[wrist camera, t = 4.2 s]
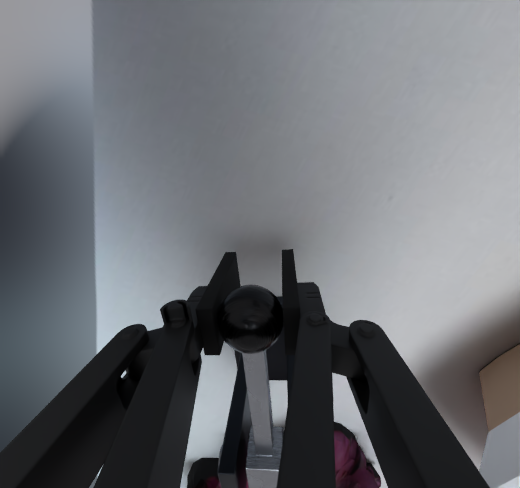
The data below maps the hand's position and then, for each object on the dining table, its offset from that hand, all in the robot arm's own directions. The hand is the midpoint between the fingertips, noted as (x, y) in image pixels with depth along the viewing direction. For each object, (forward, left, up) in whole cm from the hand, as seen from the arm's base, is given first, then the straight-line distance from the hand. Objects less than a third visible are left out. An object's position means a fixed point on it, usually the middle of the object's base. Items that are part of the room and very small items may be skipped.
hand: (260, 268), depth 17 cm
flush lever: (+5, 0, +4) cm, 7 cm away
